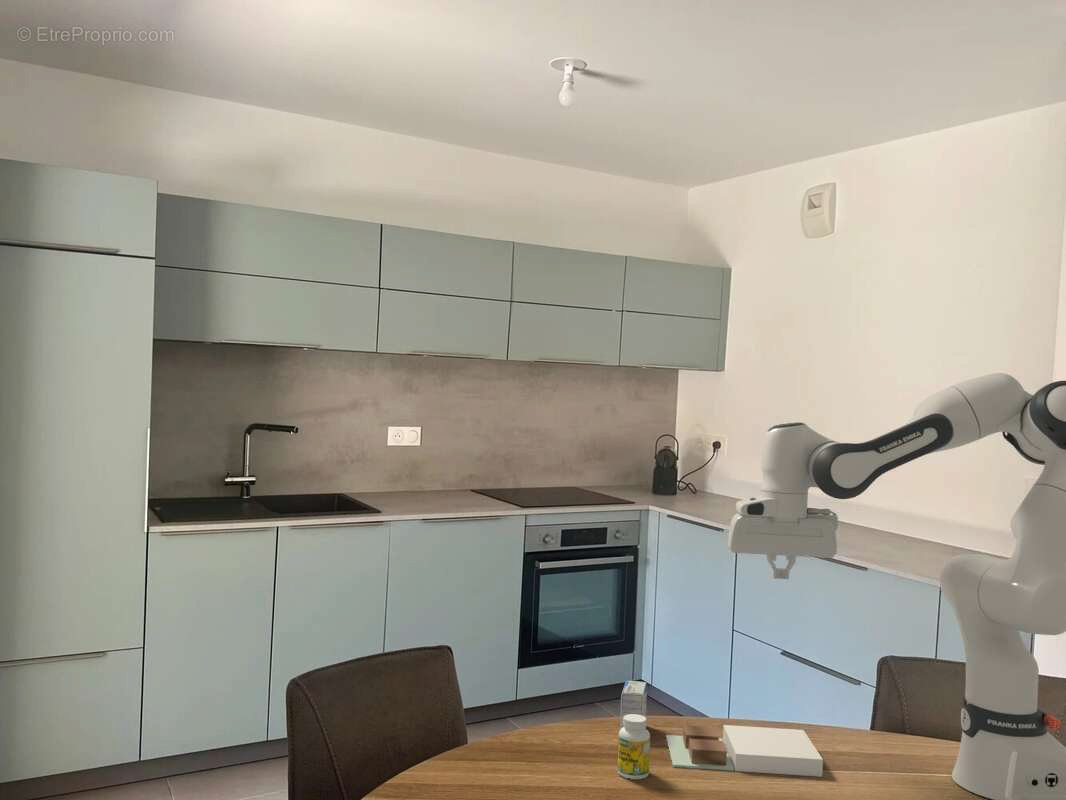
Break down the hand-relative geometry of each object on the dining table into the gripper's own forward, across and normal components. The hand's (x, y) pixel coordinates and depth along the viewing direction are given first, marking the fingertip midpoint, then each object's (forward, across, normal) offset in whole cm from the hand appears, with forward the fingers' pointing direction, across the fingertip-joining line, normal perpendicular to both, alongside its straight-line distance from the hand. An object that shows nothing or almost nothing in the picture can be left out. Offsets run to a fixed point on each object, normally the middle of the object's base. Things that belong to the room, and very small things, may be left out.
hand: (780, 578), depth 171 cm
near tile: (+31, +14, +12) cm, 36 cm away
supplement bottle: (+31, +28, +20) cm, 47 cm away
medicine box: (+31, +27, 0) cm, 41 cm away
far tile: (+31, +15, +6) cm, 34 cm away
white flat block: (+31, +2, +9) cm, 32 cm away
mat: (+31, +15, +9) cm, 36 cm away
